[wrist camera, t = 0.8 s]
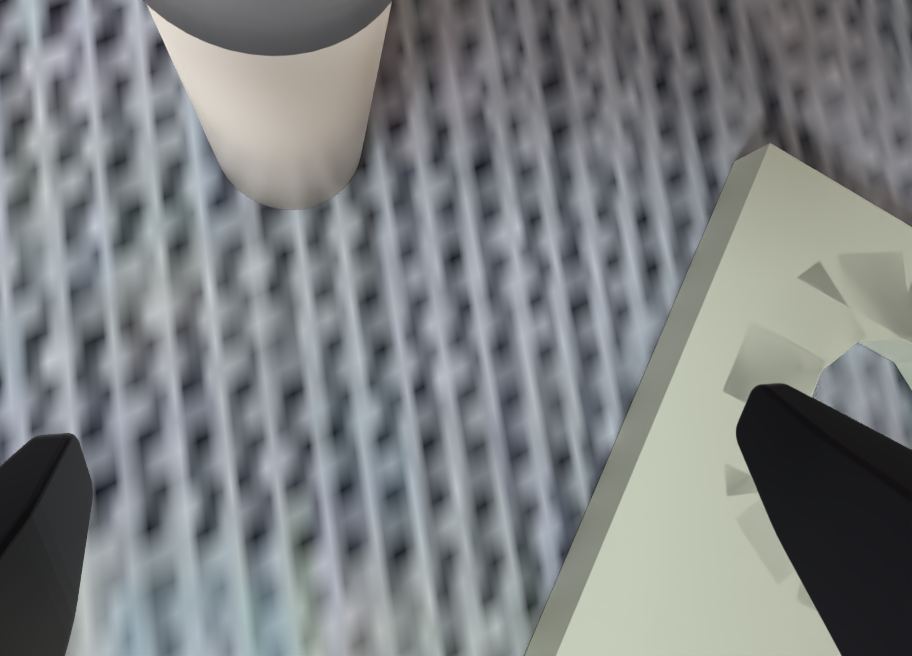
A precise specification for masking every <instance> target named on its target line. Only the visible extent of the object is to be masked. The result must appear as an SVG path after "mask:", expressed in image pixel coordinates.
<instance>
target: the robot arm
mask: <svg viewBox="0 0 912 656" xmlns="http://www.w3.org/2000/svg"><path fill="white" fill-rule="evenodd" d="M736 439H737V443H738V446H739V448H740V450H741V453H742V455H743V458H744V460H745V462H746V465H747V467H748V470H749V472H750V474H751V477H752V479H753V481H754V484H755V486H756V489H757V491H758V493H759V496H760V498H761V501H762V503H763V505H764V508H765V510H766V513H767V515H768V517H769V520H770V522H771V524H772V526H773V529H774V531H775V533H776V535H777V537H778V539H779V541H780V543H781V545H782V547H783V549H784V551H785V553H786V554H787V556H788V558H789V560H790V562H791V564H792V565H793V567H794V569H795V571H796V573H797V575H798V577H799V578H800V580H801V582H802V584H803V586H804V588H805V589H806V591H807V593H808V595H809V597H810V599H811V601H812V602H813V604H814V606H815V608H816V610H817V612H818V613H819V615H820V617H821V619H822V621H823V623H824V625H825V626H826V628H827V630H828V632H829V634H830V636H831V637H832V639H833V641H834V643H835V645H836V647H837V649H838V650H839V652H840V654H841V656H912V450H911V449H909V448H907V447H905V446H903V445H901V444H899V443H897V442H895V441H894V440H892V439H890V438H888V437H886V436H884V435H882V434H880V433H878V432H876V431H875V430H873V429H871V428H869V427H867V426H865V425H863V424H861V423H859V422H858V421H856V420H854V419H852V418H850V417H848V416H846V415H844V414H842V413H840V412H839V411H837V410H835V409H833V408H831V407H829V406H827V405H825V404H823V403H822V402H820V401H818V400H816V399H814V398H812V397H810V396H808V395H806V394H804V393H803V392H801V391H799V390H797V389H795V388H793V387H791V386H789V385H787V384H784V383H770V384H759V385H757V386H755V387H754V388H753V389H752V390H751V392H750V394H749V397H748V399H747V401H746V404H745V406H744V409H743V411H742V413H741V416H740V418H739V420H738V423H737V426H736ZM92 498H93V488H92V481H91V477H90V474H89V471H88V468H87V465H86V462H85V459H84V455H83V452H82V449H81V446H80V443H79V441H78V439H77V438H76V436H75V435H73V434H70V433H62V434H48V435H39V436H36V437H34V438H32V439H31V440H30V441H28V442H27V443H26V444H25V445H24V446H23V447H21V448H20V449H19V450H18V451H17V452H16V453H15V454H13V455H12V456H11V457H10V458H9V459H8V460H7V461H5V462H4V463H3V464H2V465H1V466H0V656H65V654H66V650H67V646H68V643H69V639H70V635H71V631H72V627H73V623H74V618H75V612H76V606H77V601H78V594H79V587H80V581H81V574H82V567H83V560H84V553H85V547H86V540H87V533H88V526H89V519H90V513H91V506H92Z"/></svg>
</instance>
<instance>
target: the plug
mask: <svg viewBox="0 0 912 656" xmlns="http://www.w3.org/2000/svg"><path fill="white" fill-rule="evenodd" d="M143 1H144V2H145V3H146V4H147V6H148V8H149V10H150V13H151V15H152V17H153V19H154V21H155V24H156V26H157V28H158V30H159V32H160V35H161V37H162V39H163V41H164V43H165V46H166V48H167V50H168V52H169V55H170V57H171V59H172V61H173V63H174V66H175V68H176V70H177V72H178V74H179V77H180V79H181V81H182V83H183V85H184V88H185V90H186V92H187V94H188V96H189V99H190V101H191V103H192V105H193V107H194V110H195V112H196V114H197V116H198V119H199V121H200V123H201V125H202V127H203V130H204V132H205V134H206V136H207V138H208V141H209V143H210V145H211V147H212V149H213V152H214V154H215V156H216V158H217V160H218V163H219V165H220V167H221V169H222V170H223V172H224V174H225V175H226V177H227V178H228V179H229V181H230V182H231V183H232V184H233V185H234V186H235V187H236V188H237V189H238V190H239V191H240V192H242V193H243V194H244V195H246V196H247V197H249V198H250V199H252V200H254V201H256V202H258V203H260V204H263V205H265V206H269V207H272V208H277V209H283V210H299V209H306V208H311V207H314V206H317V205H320V204H322V203H324V202H326V201H328V200H330V199H331V198H333V197H334V196H336V195H337V194H338V193H339V192H340V191H341V190H343V189H344V188H345V186H346V185H347V184H348V183H349V182H350V180H351V179H352V177H353V175H354V174H355V172H356V169H357V167H358V165H359V161H360V157H361V153H362V148H363V143H364V138H365V133H366V128H367V123H368V118H369V113H370V108H371V103H372V98H373V93H374V88H375V83H376V78H377V73H378V68H379V63H380V58H381V53H382V48H383V43H384V38H385V33H386V28H387V23H388V18H389V13H390V8H391V3H392V0H143Z"/></svg>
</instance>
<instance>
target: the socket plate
mask: <svg viewBox="0 0 912 656" xmlns="http://www.w3.org/2000/svg"><path fill="white" fill-rule="evenodd" d="M856 343H860V344H862V345H864V346H866V347H867V348H869V349H871V350H873V351H875V352H876V353H878V354H880V355H882V356H884V357H885V358H887V359H889V360H891V361H893V362H894V363H895V364H896V366H897V367H898V369H899V371H900V372H901V374H902V375H903V377H904V379H905V380H906V382H907V383H908V385H909V387H910V388H911V390H912V227H911V226H909V225H907V224H906V223H904V222H902V221H901V220H899V219H897V218H896V217H894V216H892V215H891V214H889V213H887V212H885V211H884V210H882V209H880V208H879V207H877V206H875V205H874V204H872V203H870V202H869V201H867V200H865V199H864V198H862V197H860V196H858V195H857V194H855V193H853V192H852V191H850V190H848V189H847V188H845V187H843V186H842V185H840V184H838V183H837V182H835V181H833V180H832V179H830V178H828V177H826V176H825V175H823V174H821V173H820V172H818V171H816V170H815V169H813V168H811V167H810V166H808V165H806V164H805V163H803V162H801V161H800V160H798V159H796V158H794V157H793V156H791V155H789V154H788V153H786V152H784V151H783V150H781V149H779V148H778V147H776V146H774V145H773V144H771V143H769V144H767V145H765V146H763V147H762V148H760V149H758V150H756V151H754V152H752V153H750V154H748V155H746V156H744V157H742V158H740V159H738V160H736V161H735V162H734V164H733V166H732V169H731V171H730V173H729V176H728V178H727V180H726V183H725V185H724V187H723V190H722V192H721V194H720V197H719V199H718V201H717V204H716V206H715V209H714V211H713V213H712V216H711V218H710V220H709V223H708V225H707V227H706V230H705V232H704V234H703V237H702V239H701V241H700V244H699V246H698V249H697V251H696V253H695V256H694V258H693V260H692V263H691V265H690V267H689V270H688V272H687V274H686V277H685V279H684V281H683V284H682V286H681V289H680V291H679V293H678V296H677V298H676V300H675V303H674V305H673V307H672V310H671V312H670V314H669V317H668V319H667V322H666V324H665V326H664V329H663V331H662V333H661V336H660V338H659V340H658V343H657V345H656V347H655V350H654V352H653V354H652V357H651V359H650V362H649V364H648V366H647V369H646V371H645V373H644V376H643V378H642V380H641V383H640V385H639V387H638V390H637V392H636V394H635V397H634V399H633V402H632V404H631V406H630V409H629V411H628V413H627V416H626V418H625V420H624V423H623V425H622V427H621V430H620V432H619V435H618V437H617V439H616V442H615V444H614V446H613V449H612V451H611V453H610V456H609V458H608V460H607V463H606V465H605V467H604V470H603V472H602V475H601V477H600V479H599V482H598V484H597V486H596V489H595V491H594V493H593V496H592V498H591V500H590V503H589V505H588V507H587V510H586V512H585V515H584V517H583V519H582V522H581V524H580V526H579V529H578V531H577V533H576V536H575V538H574V540H573V543H572V545H571V548H570V550H569V552H568V555H567V557H566V559H565V562H564V564H563V566H562V569H561V571H560V573H559V576H558V578H557V580H556V583H555V585H554V588H553V590H552V592H551V595H550V597H549V599H548V602H547V604H546V606H545V609H544V611H543V613H542V616H541V618H540V620H539V623H538V625H537V628H536V630H535V632H534V635H533V637H532V639H531V642H530V644H529V646H528V649H527V651H526V653H525V656H841V654H840V652H839V650H838V649H837V647H836V645H835V643H834V641H833V639H832V637H831V636H830V634H829V632H828V630H827V628H826V626H825V625H824V623H823V621H822V619H821V617H820V615H819V613H818V612H817V610H816V608H815V606H814V604H813V602H812V601H811V599H810V597H809V595H808V593H807V591H806V589H805V588H804V586H803V584H802V582H801V580H800V578H799V577H798V575H797V573H796V571H795V569H794V567H793V565H792V564H791V562H790V560H789V558H788V556H787V554H786V553H785V551H784V549H783V547H782V545H781V543H780V541H779V539H778V537H777V535H776V533H775V531H774V529H773V526H772V524H771V522H770V520H769V517H768V515H767V513H766V510H765V508H764V505H763V503H762V501H761V498H760V496H759V493H758V491H757V489H756V486H755V484H754V481H753V479H752V477H751V474H750V472H749V470H748V467H747V465H746V462H745V460H744V458H743V455H742V453H741V450H740V448H739V446H738V443H737V439H736V426H737V423H738V420H739V418H740V416H741V413H742V411H743V409H744V406H745V404H746V401H747V399H748V397H749V394H750V392H751V390H752V389H753V388H754V387H755V386H757V385H759V384H770V383H784V384H787V385H789V386H791V387H793V388H795V389H797V390H799V391H801V392H803V393H804V394H806V395H808V396H810V397H812V395H813V393H814V390H815V387H816V385H817V382H818V380H819V377H820V374H821V372H822V371H823V370H824V369H825V368H826V367H828V366H829V365H830V364H831V363H833V362H834V361H835V360H836V359H838V358H839V357H840V356H841V355H843V354H844V353H845V352H846V351H848V350H849V349H850V348H851V347H853V346H854V345H855V344H856Z"/></svg>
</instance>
